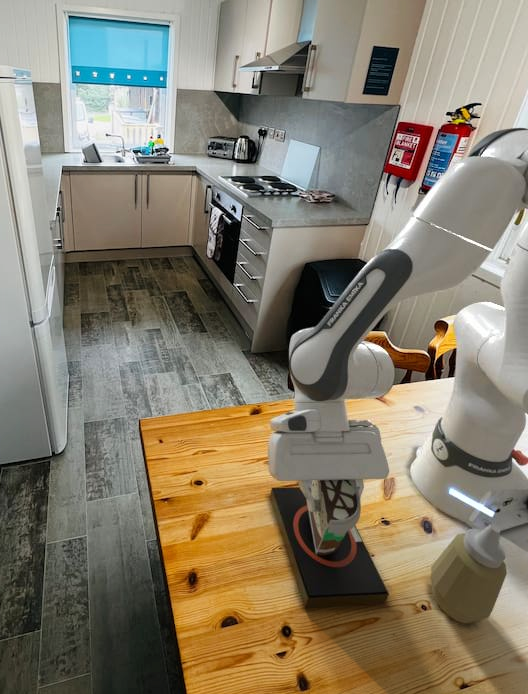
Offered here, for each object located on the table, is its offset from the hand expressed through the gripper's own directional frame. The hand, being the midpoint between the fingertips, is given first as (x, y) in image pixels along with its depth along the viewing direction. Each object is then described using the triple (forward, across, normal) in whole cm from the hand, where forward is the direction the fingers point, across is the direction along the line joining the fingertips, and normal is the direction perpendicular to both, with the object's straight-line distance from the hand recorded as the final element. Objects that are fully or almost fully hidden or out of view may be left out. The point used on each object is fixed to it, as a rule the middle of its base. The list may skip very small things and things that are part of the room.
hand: (334, 510), depth 65 cm
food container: (+4, -1, -4) cm, 6 cm away
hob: (+7, 0, -8) cm, 10 cm away
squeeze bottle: (+13, -18, -1) cm, 22 cm away
